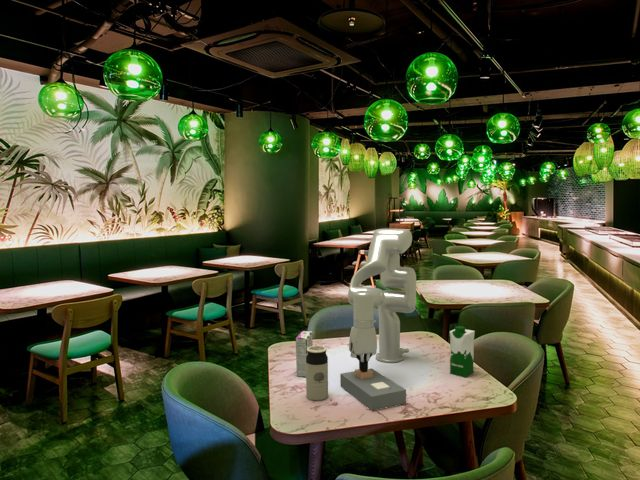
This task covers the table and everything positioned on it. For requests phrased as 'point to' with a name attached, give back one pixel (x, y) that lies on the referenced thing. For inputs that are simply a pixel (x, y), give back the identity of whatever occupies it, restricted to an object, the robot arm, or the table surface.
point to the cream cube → (380, 386)
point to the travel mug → (316, 373)
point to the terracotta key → (363, 374)
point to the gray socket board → (373, 390)
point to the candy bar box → (302, 351)
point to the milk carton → (461, 351)
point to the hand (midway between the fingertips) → (363, 370)
